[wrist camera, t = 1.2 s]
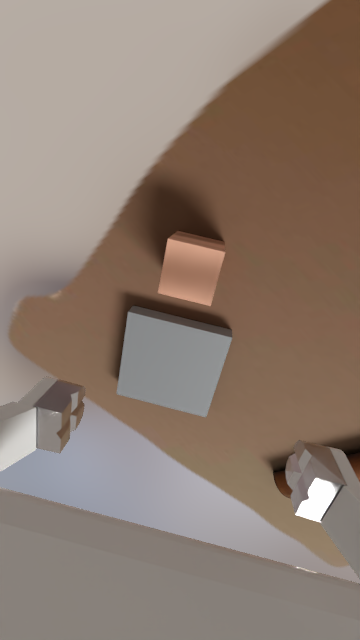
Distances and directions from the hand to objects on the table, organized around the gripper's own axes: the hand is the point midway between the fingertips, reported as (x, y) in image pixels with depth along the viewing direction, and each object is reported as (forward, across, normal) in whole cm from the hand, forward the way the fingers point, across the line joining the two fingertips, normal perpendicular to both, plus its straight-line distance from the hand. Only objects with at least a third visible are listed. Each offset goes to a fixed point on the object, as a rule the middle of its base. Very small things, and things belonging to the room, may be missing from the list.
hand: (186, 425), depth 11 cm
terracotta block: (+22, +2, -2) cm, 22 cm away
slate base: (+22, +2, +11) cm, 25 cm away
